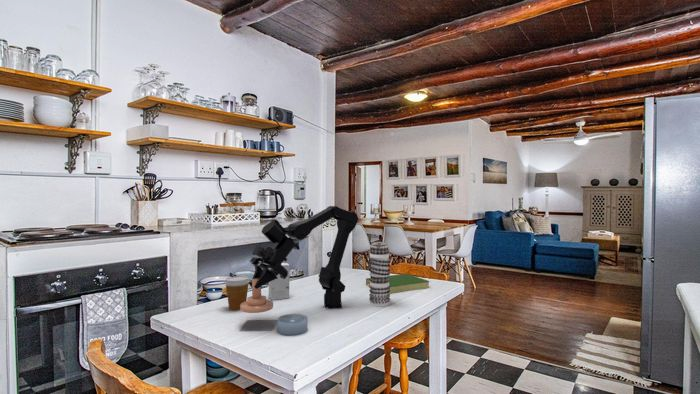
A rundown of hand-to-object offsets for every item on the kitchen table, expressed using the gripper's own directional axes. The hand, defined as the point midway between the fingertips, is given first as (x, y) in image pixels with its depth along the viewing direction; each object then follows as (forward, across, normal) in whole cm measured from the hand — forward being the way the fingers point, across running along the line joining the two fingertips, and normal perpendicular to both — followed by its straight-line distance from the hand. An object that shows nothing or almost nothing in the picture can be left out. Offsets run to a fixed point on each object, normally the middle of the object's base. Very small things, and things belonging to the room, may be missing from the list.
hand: (253, 287), depth 130 cm
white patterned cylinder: (-27, +10, +46) cm, 54 cm away
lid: (+4, 0, +6) cm, 8 cm away
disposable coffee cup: (+7, -22, +12) cm, 26 cm away
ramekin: (+4, +13, +15) cm, 20 cm away
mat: (+8, +1, +11) cm, 14 cm away
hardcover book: (-44, -4, +65) cm, 78 cm away
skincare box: (-8, -25, +27) cm, 38 cm away
